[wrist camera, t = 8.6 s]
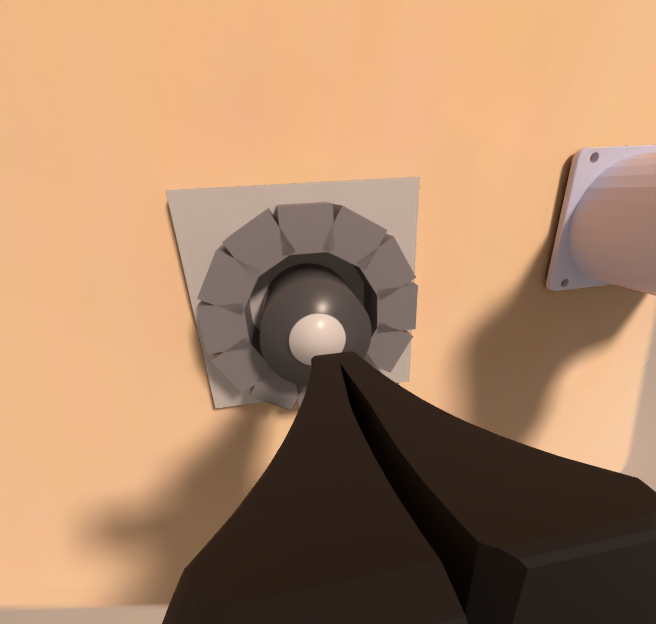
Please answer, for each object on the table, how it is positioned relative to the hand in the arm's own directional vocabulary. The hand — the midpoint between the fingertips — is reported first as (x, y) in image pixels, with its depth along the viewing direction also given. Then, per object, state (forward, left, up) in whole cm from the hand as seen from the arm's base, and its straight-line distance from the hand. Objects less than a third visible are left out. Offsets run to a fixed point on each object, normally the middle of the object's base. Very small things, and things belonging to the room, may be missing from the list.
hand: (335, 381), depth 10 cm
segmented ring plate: (0, 0, -8) cm, 8 cm away
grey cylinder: (0, 0, -8) cm, 8 cm away
